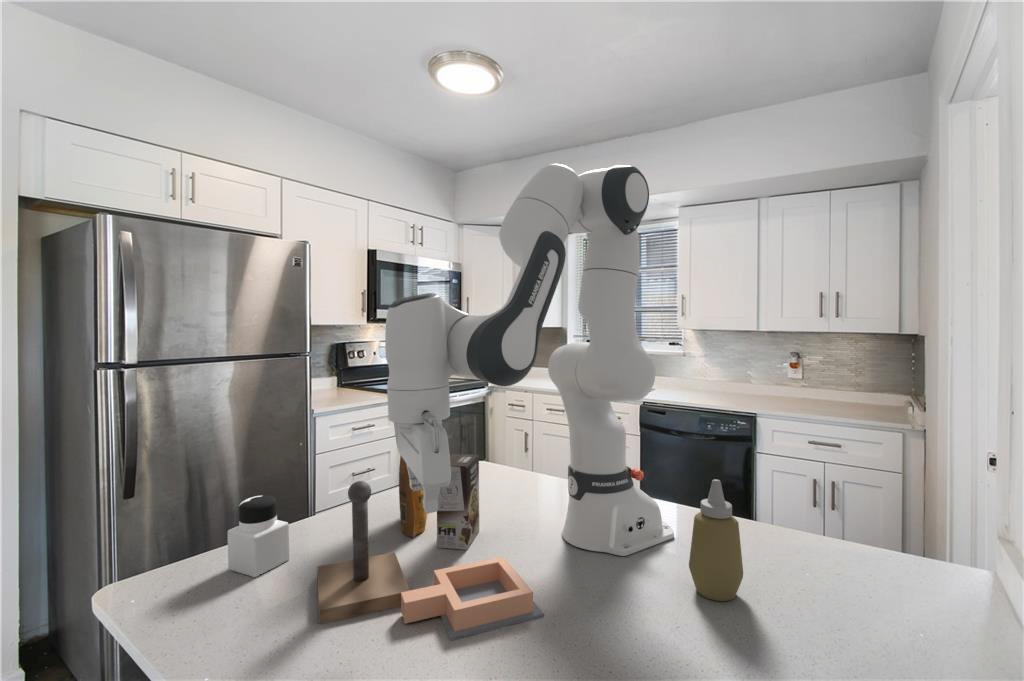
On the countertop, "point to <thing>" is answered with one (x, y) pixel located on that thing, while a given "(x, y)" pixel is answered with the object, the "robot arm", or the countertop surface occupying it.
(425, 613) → the frame
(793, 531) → the countertop surface
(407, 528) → the pancake mix bag
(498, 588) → the mat
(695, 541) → the squeeze bottle
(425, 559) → the countertop surface
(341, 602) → the stand
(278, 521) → the medicine bottle
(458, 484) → the coffee box
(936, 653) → the countertop surface
